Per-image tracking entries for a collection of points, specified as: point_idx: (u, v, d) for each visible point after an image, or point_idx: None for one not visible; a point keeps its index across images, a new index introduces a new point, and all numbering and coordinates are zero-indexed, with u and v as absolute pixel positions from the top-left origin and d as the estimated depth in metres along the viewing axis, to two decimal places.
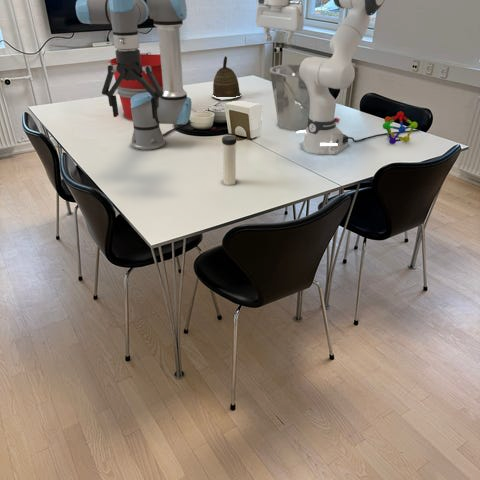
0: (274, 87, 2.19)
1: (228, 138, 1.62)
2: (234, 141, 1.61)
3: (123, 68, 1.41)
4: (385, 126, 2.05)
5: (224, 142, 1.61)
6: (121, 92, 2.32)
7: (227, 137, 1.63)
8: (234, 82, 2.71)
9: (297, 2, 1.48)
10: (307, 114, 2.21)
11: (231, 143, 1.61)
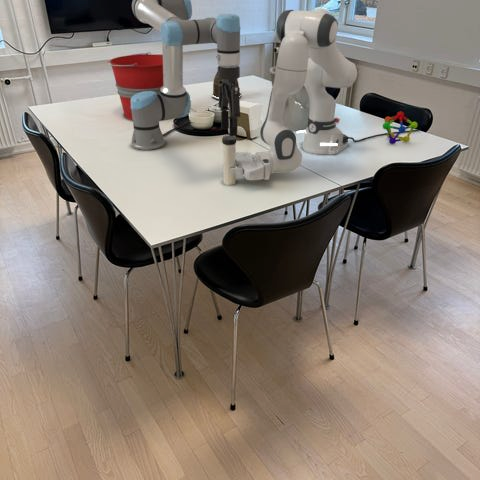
0: None
1: (228, 138, 1.62)
2: (234, 141, 1.61)
3: (223, 80, 1.53)
4: (385, 126, 2.05)
5: (224, 142, 1.61)
6: (121, 92, 2.32)
7: (227, 137, 1.63)
8: None
9: None
10: (307, 114, 2.21)
11: (231, 143, 1.61)
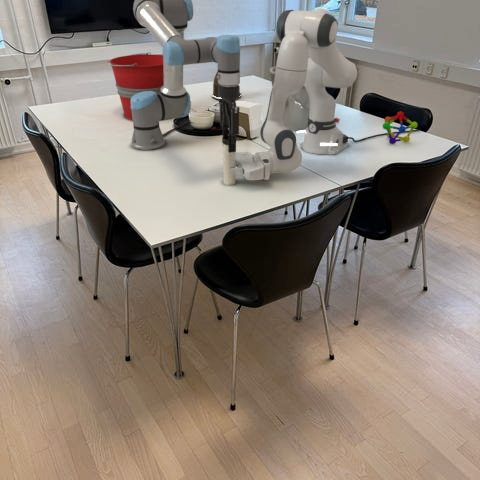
0: None
1: None
2: None
3: (224, 98, 1.56)
4: (385, 126, 2.05)
5: (224, 142, 1.61)
6: (121, 92, 2.32)
7: (227, 137, 1.63)
8: None
9: None
10: (307, 114, 2.21)
11: None
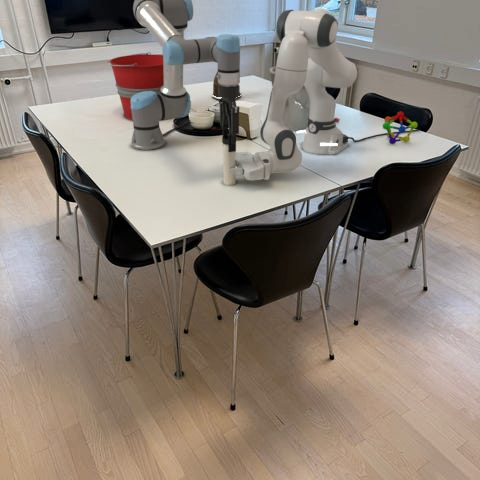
0: None
1: None
2: None
3: (223, 98, 1.56)
4: (385, 126, 2.05)
5: None
6: (121, 92, 2.32)
7: None
8: None
9: None
10: (307, 114, 2.21)
11: None
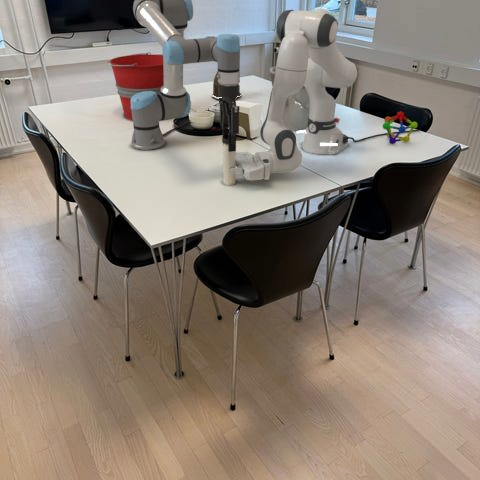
0: None
1: None
2: (222, 139, 1.62)
3: (223, 97, 1.56)
4: (385, 126, 2.05)
5: None
6: (121, 92, 2.32)
7: None
8: None
9: None
10: (307, 114, 2.21)
11: None
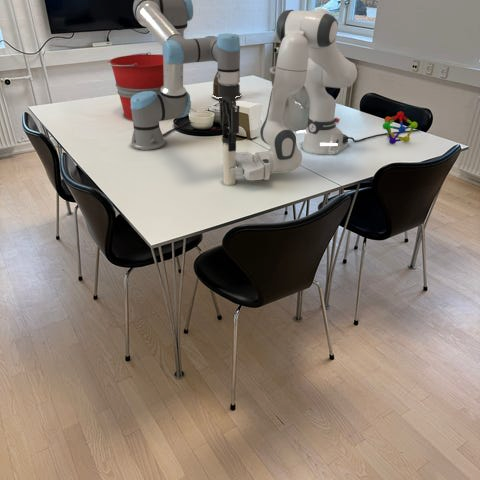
0: None
1: (227, 137, 1.61)
2: None
3: (223, 97, 1.56)
4: (385, 126, 2.05)
5: (223, 140, 1.62)
6: (121, 92, 2.32)
7: None
8: None
9: None
10: (307, 114, 2.21)
11: None
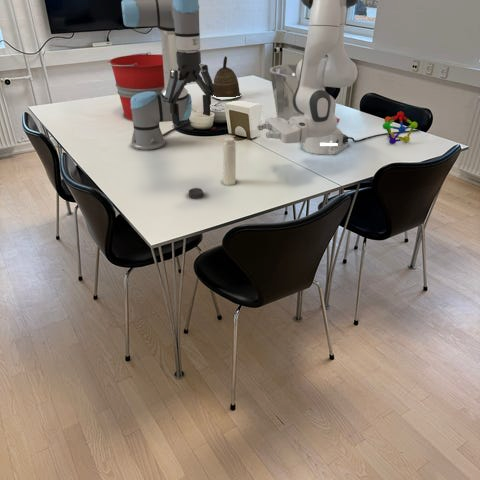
0: (274, 87, 2.19)
1: (197, 191, 1.61)
2: None
3: (187, 70, 1.37)
4: (385, 126, 2.05)
5: (200, 195, 1.60)
6: (121, 92, 2.32)
7: (193, 191, 1.60)
8: (234, 82, 2.71)
9: None
10: None
11: None
